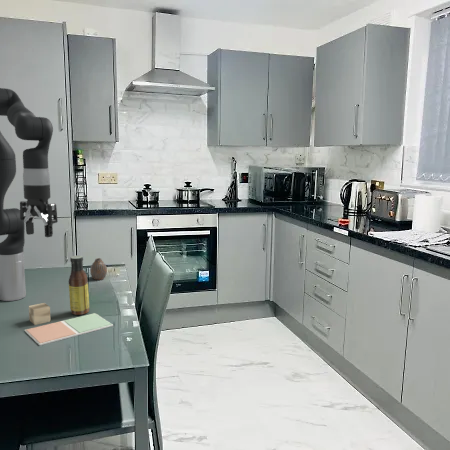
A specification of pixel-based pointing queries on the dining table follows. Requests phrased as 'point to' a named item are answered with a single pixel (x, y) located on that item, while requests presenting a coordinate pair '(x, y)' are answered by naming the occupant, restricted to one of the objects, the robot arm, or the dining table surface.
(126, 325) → the dining table surface
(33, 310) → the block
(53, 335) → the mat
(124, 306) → the dining table surface
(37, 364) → the dining table surface
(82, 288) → the sauce bottle
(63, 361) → the dining table surface
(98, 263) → the brown rounded lump
